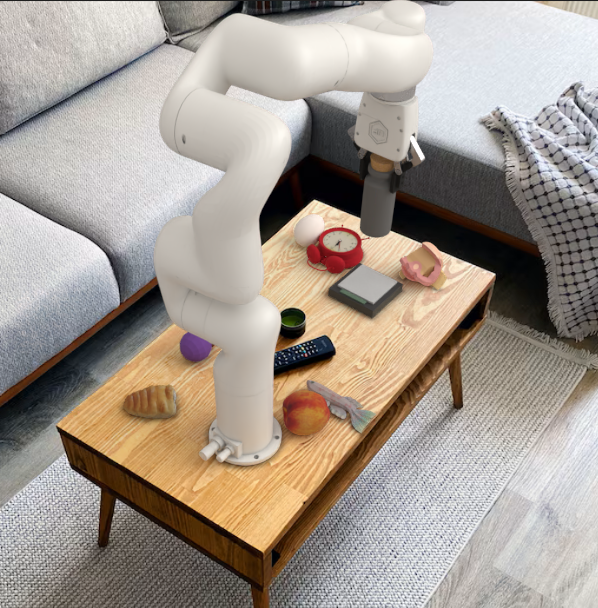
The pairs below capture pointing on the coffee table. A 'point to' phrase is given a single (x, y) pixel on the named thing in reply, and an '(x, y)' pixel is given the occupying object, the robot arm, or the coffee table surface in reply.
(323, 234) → the alarm clock
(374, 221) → the bottle
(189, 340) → the kendama
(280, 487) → the coffee table surface
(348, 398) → the fish
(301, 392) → the fruit
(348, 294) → the scale
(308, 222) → the egg
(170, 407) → the pastry
